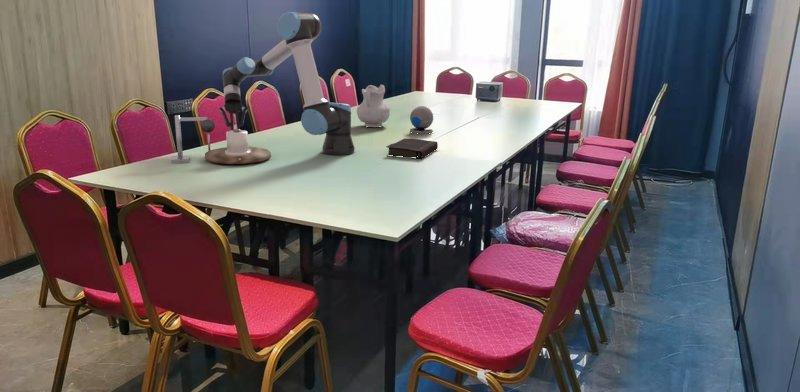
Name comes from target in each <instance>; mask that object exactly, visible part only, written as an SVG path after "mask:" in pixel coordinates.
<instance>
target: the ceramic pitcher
mask: <svg viewBox="0 0 800 392" xmlns="http://www.w3.org/2000/svg"><path fill="white" fill-rule="evenodd" d="M385 87H386V86H385V85H384V84H380V85H379V86H378V87H377V85H376V86H375V85H372V84H370V85H368V86H366V88H365V89H364V88H362V89H361V93H362V97H363V100H362V102H361V103H360V104H359V105H358V106H357V108H356V114H357V118H358V119H359V121H360V122H362V123H364V124H363V127H364V126H368V127H379V126H383V124H384V123H385V122H387V121H388V119H389V118H390V115H391V110H390V109H391V108H390V107H389V105H387V104H386V102H384V95H385V93H386V88H385ZM383 127H384V126H383Z"/></svg>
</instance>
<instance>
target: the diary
mask: <svg viewBox="0 0 800 392" xmlns="http://www.w3.org/2000/svg"><path fill="white" fill-rule="evenodd" d="M438 147H439V144H438V141H432V140H426V139H421V138H419V139H418V138H409V137H407V138H402V139H401V140H399V141H396V142H394V143H391V144H388V145H387V146H386V148H387V149H388V153H387V155H393V156H403V157H417V156H418V157H417V158H419V159H421V158H423V159H425V158H426V157H428V156H429V155H431V154H432V153H434V152H435V151H434V150H436V149H437V150H438ZM437 150H436V151H437ZM433 151H434V152H433ZM431 152H432V153H431ZM430 153H431V154H430ZM428 154H429V155H428ZM427 155H428V156H427ZM421 156H422V157H421ZM425 156H426V157H425ZM424 157H425V158H424Z"/></svg>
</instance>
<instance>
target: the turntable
mask: <svg viewBox="0 0 800 392" xmlns="http://www.w3.org/2000/svg"><path fill="white" fill-rule="evenodd" d="M248 149H250V150H251V154H250V155H248V156H242V157H231V156H226V155H225V150H227V146H226V147H220V148H214V149H210V152H209V151H206V152H205V153H204V158H205V160H206V161H207V162H211V163H216V164H224V165H226V164H227V165H243V164H245V163H246V164H252V163H253V164H254V163H259V162H264V161H266V160H269V159H270V158H271V157H272V151H271V150H269V149H266V148H262V147H258V146H257V147H256V146H248Z"/></svg>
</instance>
